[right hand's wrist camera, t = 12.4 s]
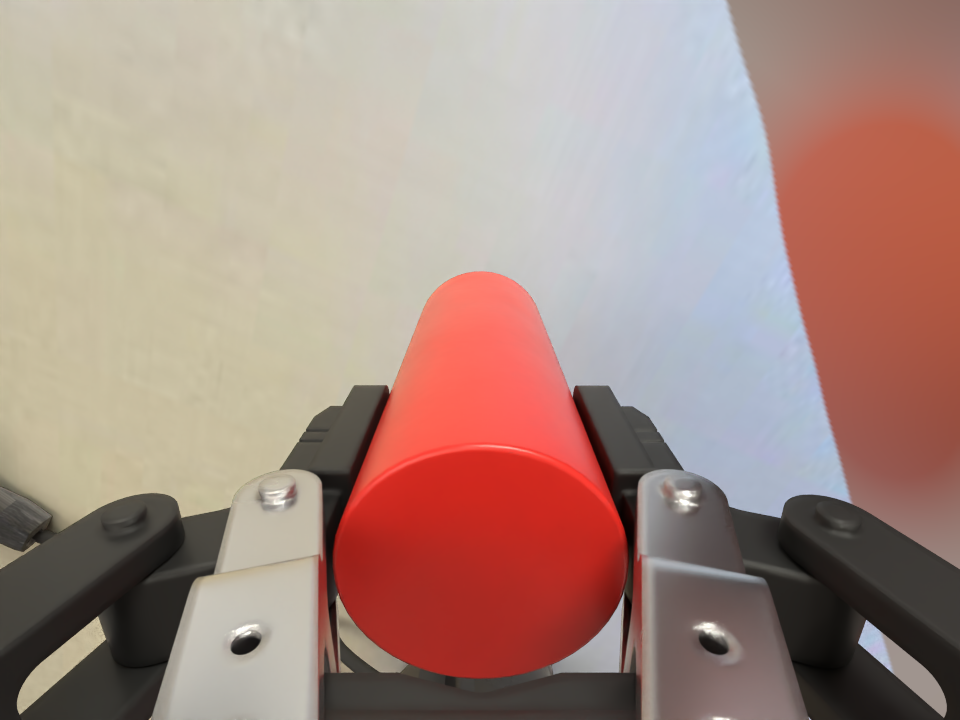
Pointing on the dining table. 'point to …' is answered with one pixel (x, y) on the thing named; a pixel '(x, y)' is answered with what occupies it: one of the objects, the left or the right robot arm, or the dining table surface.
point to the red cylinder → (480, 499)
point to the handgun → (20, 520)
